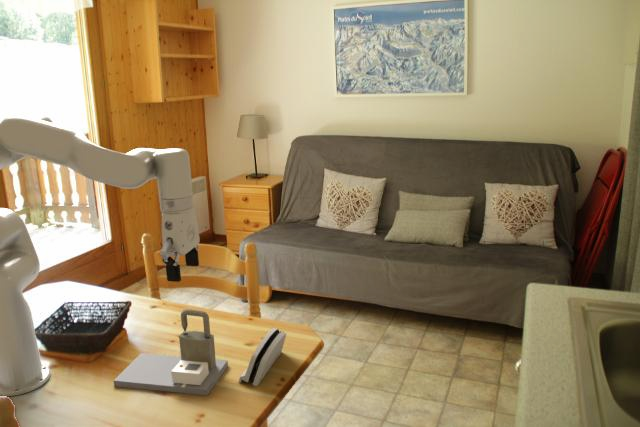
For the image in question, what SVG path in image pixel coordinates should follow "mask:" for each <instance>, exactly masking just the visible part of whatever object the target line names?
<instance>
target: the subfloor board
mask: <svg viewBox="0 0 640 427" xmlns="http://www.w3.org/2000/svg"><path fill="white" fill-rule="evenodd" d="M215 359H216V365H215V366H214V368H213V369H212V370H209V374H208V375H207V377H206V378H205V380H204V381H203V382H202V384H201V385H192V384H182V383H173V382H172V373H171V371H172V370H173V369H174V368H175V366H176V365H177V364H178V363H179V362H180V361H181V355H168V354H167V355H166V354H156V353H155V354H154V353H146V352H145V353H144V352H141V353H140V354H139V355H138V356H136V358H135V359H134V360H133V361H132V362H131V363H130V364H128V366H127V367H125V368H124V369H123V371H122V372H120V373H119V375H118V376H116V377H115V379H113V386H114V387H120V388H122V387H123V388H130V389H139V390H148V391H149V390H150V391H151V390H152V391H161V392H168V393H169V392H170V393H179V394H181V393H182V394H192V395H201V396H208V395H209V393H211V391H212V389H213V388H214V386H215V385H216V384H217V382H218V381H219V379H220V378H221V376H222V375H223V374H224V372H225V370H226V369H227V367H228V366H229V363H228V362H229V361H228V360H227V359H217V358H215Z"/></svg>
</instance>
